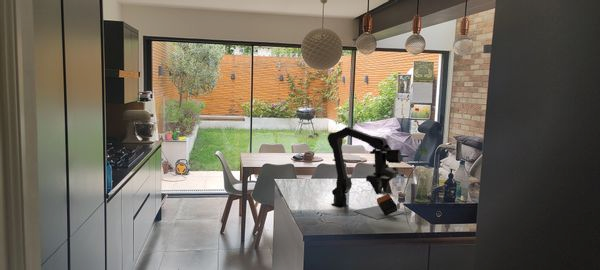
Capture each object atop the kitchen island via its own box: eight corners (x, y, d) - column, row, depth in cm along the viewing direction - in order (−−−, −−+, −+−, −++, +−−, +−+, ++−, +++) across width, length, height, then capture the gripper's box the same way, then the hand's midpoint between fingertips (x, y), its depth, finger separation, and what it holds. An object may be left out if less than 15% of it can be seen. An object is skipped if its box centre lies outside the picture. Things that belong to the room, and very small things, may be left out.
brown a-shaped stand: (378, 193, 263) (379, 173, 262) (374, 190, 269) (376, 171, 268) (392, 193, 265) (393, 174, 264) (388, 190, 271) (389, 172, 269)
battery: (385, 216, 213) (376, 202, 221) (397, 211, 213) (388, 197, 221) (384, 210, 210) (375, 197, 218) (397, 205, 211) (387, 192, 219)
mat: (353, 211, 220) (353, 210, 220) (378, 206, 233) (378, 205, 232) (377, 219, 208) (377, 218, 208) (403, 213, 220) (403, 212, 220)
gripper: (384, 165, 204) (385, 198, 205) (404, 161, 218) (404, 191, 219) (365, 164, 212) (366, 195, 213) (384, 160, 226) (385, 189, 226)
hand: (381, 193), depth 217 cm, fingers open, 7 cm apart
